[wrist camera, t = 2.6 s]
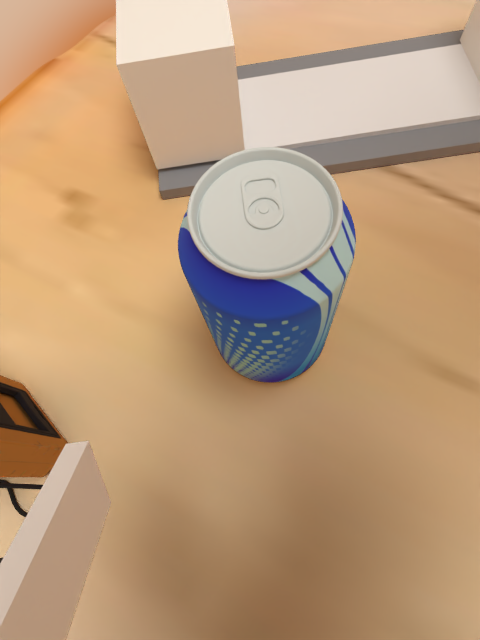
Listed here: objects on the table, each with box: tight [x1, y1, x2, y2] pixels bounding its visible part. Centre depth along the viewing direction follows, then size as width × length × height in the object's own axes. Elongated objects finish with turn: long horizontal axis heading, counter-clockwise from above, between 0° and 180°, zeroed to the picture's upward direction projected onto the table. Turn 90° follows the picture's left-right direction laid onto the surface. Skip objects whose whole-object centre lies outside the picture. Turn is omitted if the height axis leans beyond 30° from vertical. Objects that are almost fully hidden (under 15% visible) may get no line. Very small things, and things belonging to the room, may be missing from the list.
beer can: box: [178, 147, 356, 382], centre depth 25 cm, size 8×8×16 cm
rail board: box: [116, 0, 480, 199], centre depth 34 cm, size 38×14×12 cm, turn 97°
